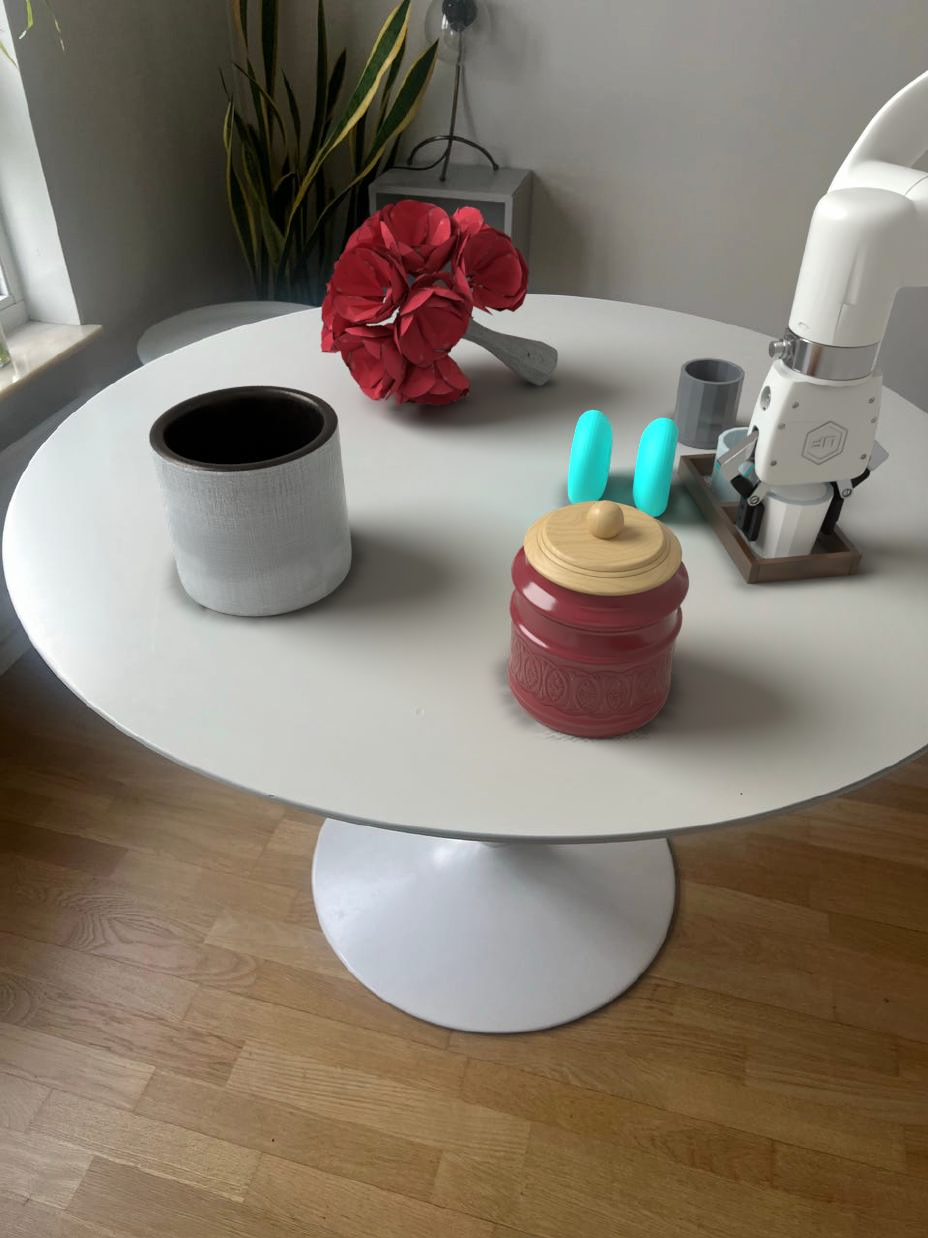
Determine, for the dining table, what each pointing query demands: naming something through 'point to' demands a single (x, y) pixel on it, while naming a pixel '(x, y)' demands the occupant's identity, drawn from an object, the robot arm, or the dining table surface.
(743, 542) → the glass rack
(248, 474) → the planter
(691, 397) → the grey cup
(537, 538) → the kitchen canister
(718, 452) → the glass
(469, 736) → the dining table surface
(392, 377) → the bouquet
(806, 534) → the white cup
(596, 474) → the cyan rounded forked piece
